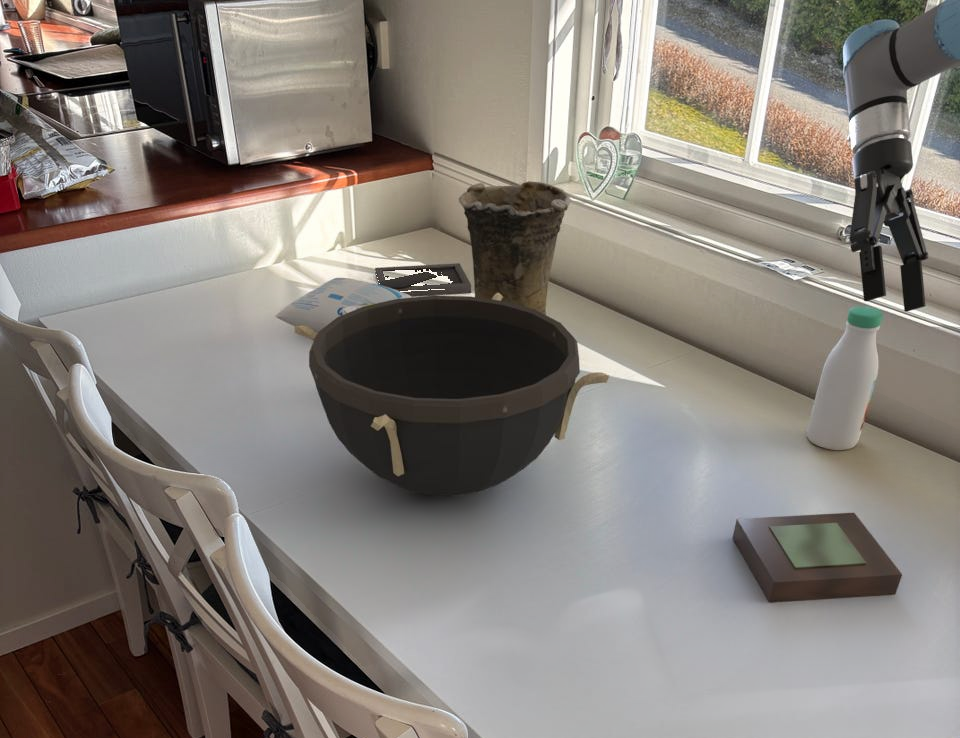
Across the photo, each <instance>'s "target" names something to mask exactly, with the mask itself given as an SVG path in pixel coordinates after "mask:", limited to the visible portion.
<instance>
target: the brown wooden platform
mask: <svg viewBox="0 0 960 738" xmlns="http://www.w3.org/2000/svg"><path fill="white" fill-rule="evenodd" d="M732 540H733V542H734V543H735V546H736V547H737V549H738V550H739V553H740V554H741V556H742V558H744V561H745V563H746V565H747V566H748V568H749V570H750V571H751V573H752V575H753V577H754V578H755V580H756V582H757V584H758V586H759V587H760V589H761V590H762V592H763V594H764V596H765V597H766V599H767V601H768V603H780V602H796V601H812V600H825V599H827V600H828V599H844V598H845V599H846V598H857V597H874V596H876V597H877V596H890V595H896V594H897V591H898V588H899V586H900V582H901V580H902V578H903V573H902V572H901V571H900V569H899V568H898V567H897V565H896V564H895V563H894V562H893V560H892V559H891V557H889V555H888V553H886V551H885V550H884V549H883V548H882V546H881V545H880V544H879V543H878V541H877V540H876V538H875V537H874V536H873V534H872V533H871V532H870V530H869V529H868V528H867V527H866V525H865V524H864V523H863V522H862V520H861V519H860V518H859V517H858V515H857V514H856V513H855V512H838V513H837V512H836V513H822V514H821V513H820V514H802V515H785V516H783V515H782V516H764V517H749V518H748V517H747V518H736V520H735V525H734V528H733V534H732Z"/></svg>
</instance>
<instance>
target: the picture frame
mask: <svg viewBox="0 0 960 738" xmlns="http://www.w3.org/2000/svg"><path fill="white" fill-rule="evenodd" d="M423 269H426V271H429V269H430V270H431V271H432V272H437V275H438V276H442V275H443V276H448V279H450V281H453V282H452V283H451V284H450V283H448V284H440V285H427V284H425V285H423V286H411V285H414V284H417V283H420V282H423V281H426V280H429V279H432V278H436V277H437V276H436V275H434V274H431V273H429V272H423ZM395 270H415V272H417V270H418V271H419V270H421V272H423V273H418V274H413V275H409V276H404V277H399V278H395V279H390V280H385V277H387V278H388V277H389V276H385V277H384V274H383V271H395ZM375 271H376V272H375ZM441 272H442V273H441ZM374 273H375V275H374V276H375V279H376V283H377V284H378V285H382V286H385V287H388V288H392V289H395V290H398V291H408V290H428V289H430V290H428V291H411V292H403V293H405V294H408V295H410V296H412V297H423V296H444V295H458V294H460V295H461V294H472V283H471V281H470V280H469V278H468V276H467V274H466V273H465V271H464V269H463V267H462V265H461V263H460V262H457V263H456V262H455V263H440V264H422V265H421V264H419V265H418V264H417V265H402V266H401V265H400V266H383V267H381V266H380V267H374ZM376 274H377V275H376ZM441 274H442V275H441ZM377 277H378V278H377ZM378 280H379V281H378ZM379 283H380V284H379ZM431 289H445V290H431Z"/></svg>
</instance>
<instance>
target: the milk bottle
mask: <svg viewBox="0 0 960 738" xmlns="http://www.w3.org/2000/svg"><path fill="white" fill-rule="evenodd" d="M883 317H884V313H883V312H882V310H880V309H878V308H875V307H872V306H865V305H864V306H863V305H859V306H857V305H856V306H853V307H851V308H850V309H849V311H848V314H847V318H846V319H847V320H846V322H845V325H846V328H845V330H844V332H843V334H842V336H841V338H840V339H839V341H838V342H837V343H836V344H835V346H834V347H833V348H832V350H831V351H830V352H829V354H828V355H827V358H826V359H825V360H826V361H825V363H824V366H823V368H822V371H821V375H820V379H819V382H818V385H817V390H816V394H815V397H814V400H813V405H812V409H811V413H810V417H809V420H808V424H807V428H806V429H807V430H806V437H807V439H808V440H809V442H810V443H812V444H814V445H815V446H818V447H820V448H822V449H827V450H833V451H843V450H844V451H846V450H849V449H852V448H854V447H855V446H856V445H857V444H858V443H859V440H860V438H861V434H862V431H863V428H864V424H865V421H866V417H867V413H868V410H869V407H870V403H871V400H872V396H873V393H874V388H875V385H876V381H877V378H878V373H879V365H880V364H879V362H880V361H879V354H878V350H877V333H878V331H879V330H880V329H881V327H880V326H881V324H882V322H883Z"/></svg>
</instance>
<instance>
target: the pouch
mask: <svg viewBox="0 0 960 738" xmlns="http://www.w3.org/2000/svg"><path fill="white" fill-rule="evenodd" d="M412 297H413V296H410V295H408V294H405V293H403V292H400V291H398V290H395V289H392V288H388V287H385V286H382V285H378V283H373V282H370V281H369V282H368V281H364V280H360V279H356V278H349V277H334V278H332V279H330V280H328V281H326V282H325V283H323V284H321V285H320V286H318V287H316V288H315V289H313V290H311V291H309V292H307V293H305V294H303V295H302V296H300V297H299V298H297V299H295V300H294V301H292V302H291V303H290V304H289V303H288V305H287V306H285V307H283V308H282V309H281V310H280V311H279V312H277V314H275V315H274V317H275V318H277V319H279V320H280V321H282V322H284V323H286V324H289V325H291V326H293V327H294V326H302V325H304V326H307V327H309V328H311V329H312V330H313V331H314V332H315V333H316V334H318V332H319V331H320V330H322V329H323V328H324V327H326V326H327V325H328V324H329V323H331V322H332V321H333V320H334V319H336V318H337V317H339V316H342V315H343V311H342V309H343V308H346V307H349V306H353V305H358V304H364V303H375V304H377V303H381V302H385V301H390V300H394V299H402V298H412Z"/></svg>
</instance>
